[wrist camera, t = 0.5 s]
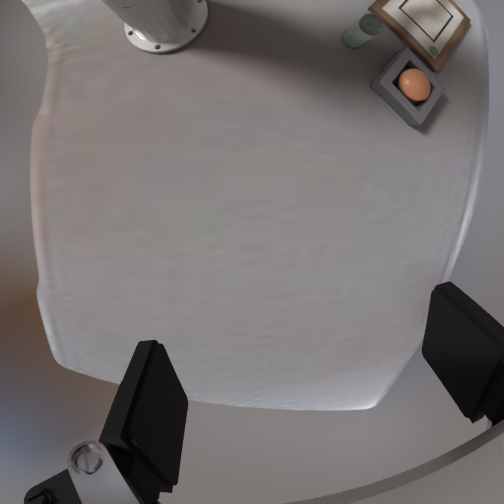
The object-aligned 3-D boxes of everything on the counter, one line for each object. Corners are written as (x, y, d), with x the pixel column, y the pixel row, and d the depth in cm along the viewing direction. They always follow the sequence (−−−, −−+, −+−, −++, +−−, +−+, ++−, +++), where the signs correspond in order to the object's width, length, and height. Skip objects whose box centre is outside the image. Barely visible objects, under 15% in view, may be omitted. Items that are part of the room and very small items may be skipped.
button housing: (369, 85, 36) (378, 82, 33) (396, 51, 34) (407, 46, 31) (408, 125, 39) (420, 125, 35) (433, 90, 36) (445, 88, 33)
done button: (391, 84, 34) (398, 82, 32) (406, 64, 33) (413, 62, 31) (414, 107, 36) (420, 106, 34) (428, 87, 34) (435, 86, 32)
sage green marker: (338, 39, 34) (358, 21, 26) (349, 28, 33) (369, 10, 25) (354, 52, 34) (376, 37, 27) (364, 40, 34) (387, 25, 26)
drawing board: (367, 9, 31) (370, 6, 30) (411, -33, 26) (415, -36, 25) (433, 71, 35) (437, 70, 34) (467, 21, 30) (471, 20, 29)
